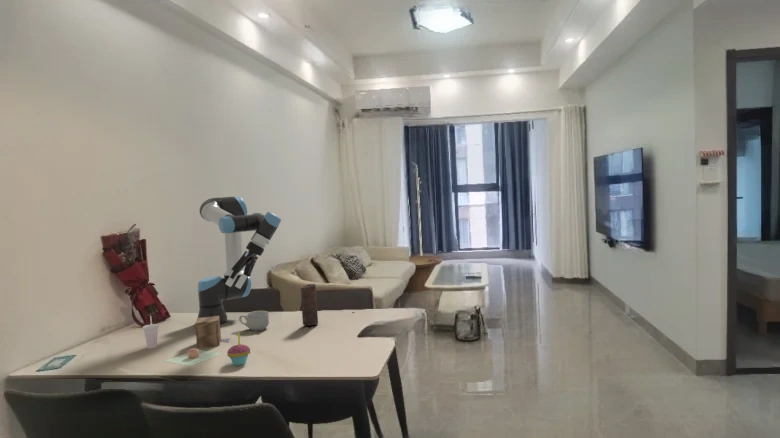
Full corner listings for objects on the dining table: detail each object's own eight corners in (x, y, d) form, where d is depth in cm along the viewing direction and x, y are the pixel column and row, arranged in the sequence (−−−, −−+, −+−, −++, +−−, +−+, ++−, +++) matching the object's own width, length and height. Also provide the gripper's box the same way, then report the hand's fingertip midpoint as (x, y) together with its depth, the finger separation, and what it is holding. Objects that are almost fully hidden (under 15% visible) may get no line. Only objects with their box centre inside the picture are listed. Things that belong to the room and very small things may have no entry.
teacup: (272, 326, 255) (271, 310, 254) (265, 332, 244) (264, 315, 243) (245, 327, 256) (244, 311, 256) (236, 333, 245) (235, 316, 245)
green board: (163, 362, 205) (163, 361, 205) (197, 350, 219) (197, 349, 219) (189, 367, 197) (189, 365, 197) (223, 355, 211) (223, 353, 211)
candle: (316, 327, 247) (314, 285, 246) (301, 328, 248) (298, 286, 247) (319, 323, 255) (316, 282, 254) (304, 324, 255) (301, 283, 254)
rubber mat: (188, 351, 219) (188, 350, 219) (191, 343, 231) (191, 342, 231) (227, 346, 223) (227, 345, 223) (229, 339, 235) (229, 338, 235)
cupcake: (231, 360, 203) (228, 330, 202) (253, 358, 203) (250, 328, 203) (225, 368, 194) (223, 336, 193) (249, 366, 195) (246, 334, 194)
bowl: (185, 358, 207) (185, 350, 207) (194, 355, 211) (194, 347, 211) (192, 359, 205) (192, 351, 205) (201, 356, 209) (200, 348, 209)
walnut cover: (197, 348, 221) (195, 323, 220) (199, 342, 231) (198, 318, 230) (219, 346, 223) (217, 320, 223) (221, 339, 233) (219, 315, 232)
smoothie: (163, 345, 231) (160, 314, 230) (152, 349, 225) (149, 318, 224) (152, 345, 233) (149, 314, 232) (140, 349, 227) (138, 317, 226)
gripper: (257, 244, 221) (231, 288, 217) (271, 252, 245) (248, 292, 242) (242, 236, 222) (216, 280, 218) (257, 244, 246) (234, 284, 243)
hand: (232, 286), depth 230 cm, fingers open, 13 cm apart
